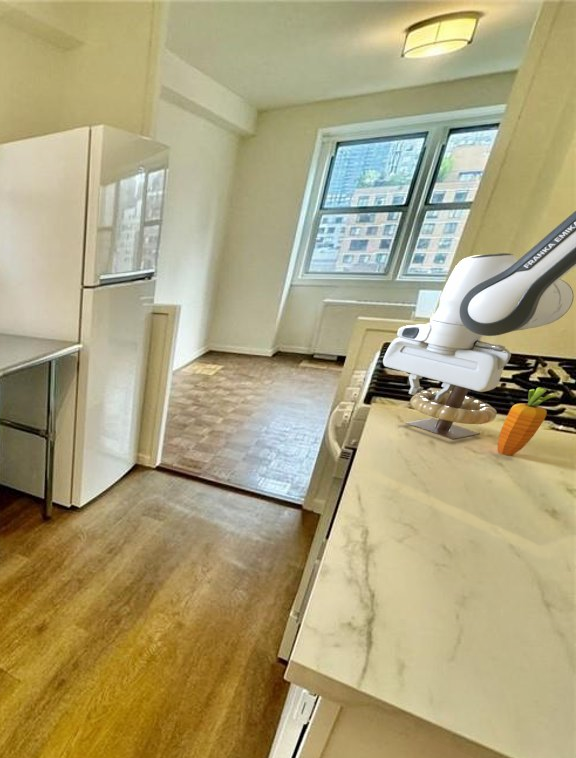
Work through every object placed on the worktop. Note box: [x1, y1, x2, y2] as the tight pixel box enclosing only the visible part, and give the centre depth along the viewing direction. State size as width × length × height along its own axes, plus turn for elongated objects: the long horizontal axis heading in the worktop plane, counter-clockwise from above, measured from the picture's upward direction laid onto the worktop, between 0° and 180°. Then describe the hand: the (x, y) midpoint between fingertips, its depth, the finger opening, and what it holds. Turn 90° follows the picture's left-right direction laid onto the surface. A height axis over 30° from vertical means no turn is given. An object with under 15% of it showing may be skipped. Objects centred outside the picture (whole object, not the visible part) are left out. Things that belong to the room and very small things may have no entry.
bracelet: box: [409, 391, 498, 425], centre depth 103 cm, size 14×14×3 cm
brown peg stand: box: [405, 385, 480, 440], centre depth 103 cm, size 9×9×14 cm
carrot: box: [497, 387, 558, 457], centre depth 92 cm, size 5×5×15 cm
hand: (424, 397), depth 107 cm, fingers closed on bracelet, 3 cm apart
